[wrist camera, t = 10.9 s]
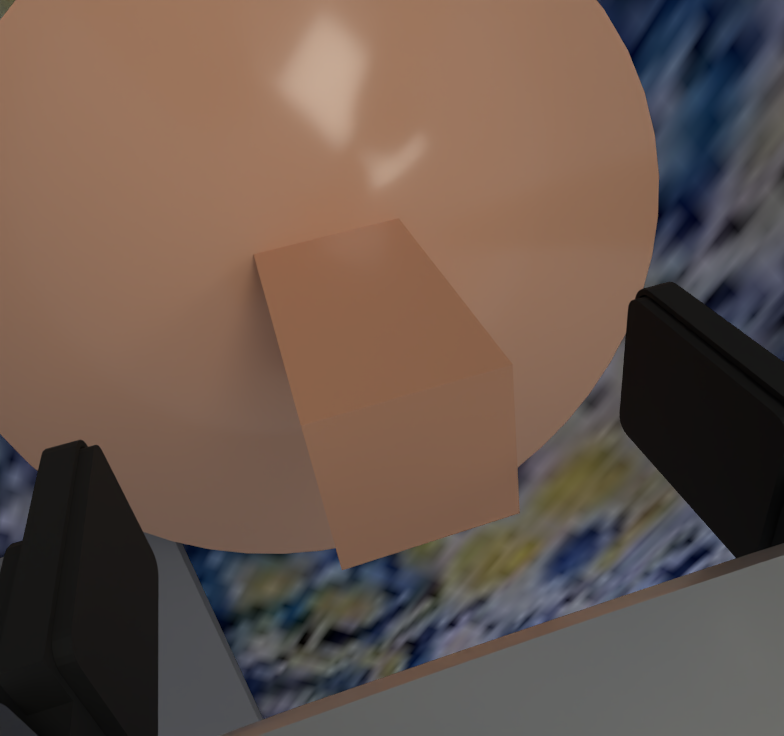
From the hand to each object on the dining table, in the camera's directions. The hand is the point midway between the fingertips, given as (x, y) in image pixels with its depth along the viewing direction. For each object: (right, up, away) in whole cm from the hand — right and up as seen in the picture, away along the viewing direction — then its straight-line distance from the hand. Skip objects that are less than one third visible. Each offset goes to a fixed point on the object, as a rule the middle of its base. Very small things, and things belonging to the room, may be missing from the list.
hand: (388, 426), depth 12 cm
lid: (-1, +3, +4) cm, 6 cm away
